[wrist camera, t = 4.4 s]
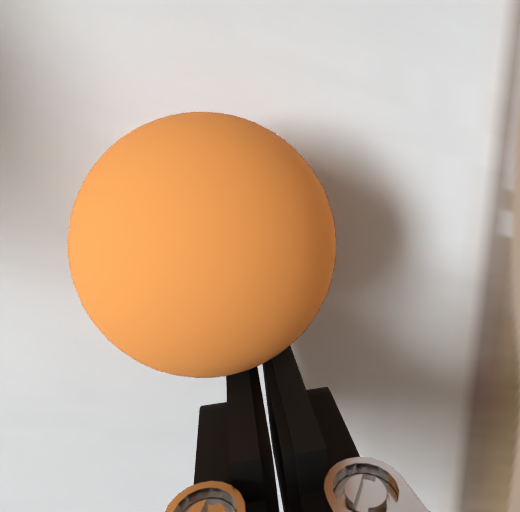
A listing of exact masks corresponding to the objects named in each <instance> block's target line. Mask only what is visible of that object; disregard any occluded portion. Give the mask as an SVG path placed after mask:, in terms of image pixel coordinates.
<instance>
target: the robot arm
mask: <svg viewBox="0 0 520 512" xmlns="http://www.w3.org/2000/svg"><path fill="white" fill-rule="evenodd" d="M263 372H264V380H265V389H266V397H267V406H268V414H269V423H270V431H271V439H272V447H273V453H274V459H275V464H276V470H277V476H278V481H279V487H280V493H281V498H282V504H283V510H284V512H429V511H428V510H427V508H426V507H425V506H424V504H423V503H422V502H421V501H420V499H419V498H418V497H417V495H416V494H415V493H414V491H413V490H412V489H411V488H410V486H409V485H408V484H407V482H406V481H405V480H404V478H403V477H402V476H401V475H400V474H399V473H398V472H397V471H396V470H395V469H394V468H393V467H391V466H389V465H388V464H386V463H384V462H383V461H379V460H376V459H373V458H367V457H360V456H359V453H358V451H357V449H356V447H355V445H354V442H353V440H352V438H351V436H350V434H349V431H348V429H347V427H346V425H345V423H344V420H343V418H342V416H341V414H340V412H339V410H338V407H337V405H336V403H335V401H334V399H333V396H332V394H331V392H330V390H329V388H328V387H323V388H317V389H310V390H306V388H305V386H304V383H303V380H302V377H301V374H300V372H299V369H298V366H297V363H296V360H295V358H294V355H293V352H292V349H291V346H288V347H287V348H286V349H285V350H283V351H282V352H281V353H279V354H278V355H277V356H275V357H273V358H272V359H270V360H268V361H267V362H265V363H263ZM226 381H227V402H224V403H218V404H211V405H204V406H201V407H200V412H199V425H198V438H197V450H196V463H195V476H194V485H193V486H190V487H188V488H186V489H185V490H184V491H182V492H181V493H179V494H178V495H177V496H176V497H175V498H174V499H173V500H172V502H171V503H170V504H169V505H168V507H167V509H166V511H165V512H279V505H278V497H277V488H276V480H275V472H274V464H273V457H272V450H271V444H270V438H269V432H268V426H267V421H266V415H265V409H264V403H263V397H262V391H261V385H260V380H259V374H258V368H257V366H256V367H254V368H252V369H249V370H247V371H243V372H239V373H236V374H232V375H227V376H226Z"/></svg>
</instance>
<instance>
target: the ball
mask: <svg viewBox="0 0 520 512" xmlns="http://www.w3.org/2000/svg"><path fill="white" fill-rule="evenodd" d="M68 257H69V265H70V270H71V275H72V279H73V283H74V286H75V288H76V290H77V293H78V295H79V298H80V300H81V303H82V305H83V307H84V309H85V310H86V312H87V314H88V315H89V317H90V318H91V320H92V321H93V323H94V324H95V325H96V326H97V328H98V329H99V330H100V331H101V332H102V333H103V335H104V336H105V337H106V338H107V339H108V340H109V341H110V342H111V343H112V344H114V345H115V346H116V347H117V348H118V349H120V350H121V351H122V352H124V353H125V354H127V355H128V356H130V357H132V358H133V359H135V360H137V361H138V362H140V363H141V364H144V365H146V366H148V367H151V368H153V369H156V370H158V371H162V372H165V373H169V374H173V375H178V376H186V377H195V378H211V377H220V376H227V375H232V374H236V373H239V372H243V371H247V370H249V369H252V368H254V367H256V366H258V365H261V364H263V363H265V362H267V361H268V360H270V359H272V358H273V357H275V356H277V355H278V354H279V353H281V352H282V351H283V350H285V349H286V348H287V347H288V346H290V345H291V344H292V343H293V342H294V341H295V340H296V339H297V338H298V337H299V336H300V335H301V334H302V333H303V332H304V331H305V330H306V329H307V327H308V326H309V325H310V323H311V322H312V320H313V319H314V318H315V316H316V314H317V312H318V311H319V309H320V307H321V305H322V303H323V301H324V299H325V297H326V295H327V292H328V289H329V286H330V283H331V280H332V275H333V269H334V264H335V259H336V235H335V226H334V219H333V215H332V212H331V208H330V205H329V202H328V199H327V196H326V194H325V191H324V189H323V187H322V185H321V183H320V181H319V180H318V178H317V177H316V175H315V174H314V172H313V170H312V169H311V167H310V166H309V164H308V163H307V162H306V161H305V160H304V158H303V157H302V156H301V155H300V154H299V153H298V152H297V151H296V150H295V149H294V148H293V147H292V146H290V145H289V144H288V143H287V142H286V141H285V140H284V139H282V138H281V137H279V136H278V135H276V134H275V133H274V132H272V131H270V130H268V129H266V128H264V127H262V126H260V125H258V124H256V123H254V122H251V121H249V120H246V119H244V118H240V117H237V116H233V115H228V114H222V113H212V112H190V113H181V114H176V115H171V116H167V117H164V118H160V119H157V120H155V121H152V122H150V123H147V124H145V125H143V126H141V127H139V128H137V129H135V130H133V131H131V132H130V133H128V134H127V135H125V136H124V137H122V138H121V139H120V140H118V141H117V142H116V143H115V144H113V145H112V146H111V147H110V148H109V149H108V150H107V151H106V152H105V153H104V154H103V155H102V157H101V158H100V159H99V160H98V161H97V163H96V164H95V165H94V166H93V168H92V169H91V170H90V172H89V173H88V175H87V177H86V178H85V180H84V182H83V184H82V186H81V189H80V191H79V193H78V196H77V198H76V200H75V203H74V206H73V210H72V213H71V217H70V225H69V233H68Z"/></svg>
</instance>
